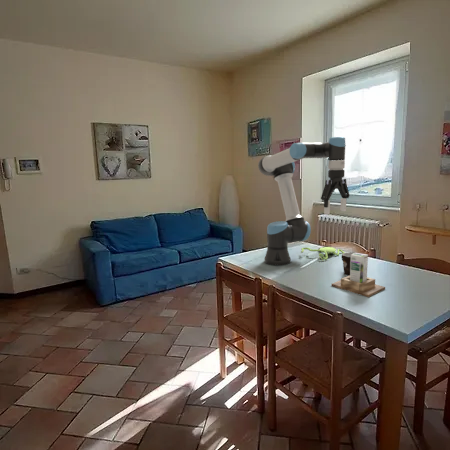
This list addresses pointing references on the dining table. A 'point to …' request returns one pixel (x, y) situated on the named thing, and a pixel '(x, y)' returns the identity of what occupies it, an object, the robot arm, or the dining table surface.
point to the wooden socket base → (359, 286)
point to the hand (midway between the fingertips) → (335, 212)
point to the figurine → (325, 251)
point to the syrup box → (358, 267)
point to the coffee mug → (346, 262)
